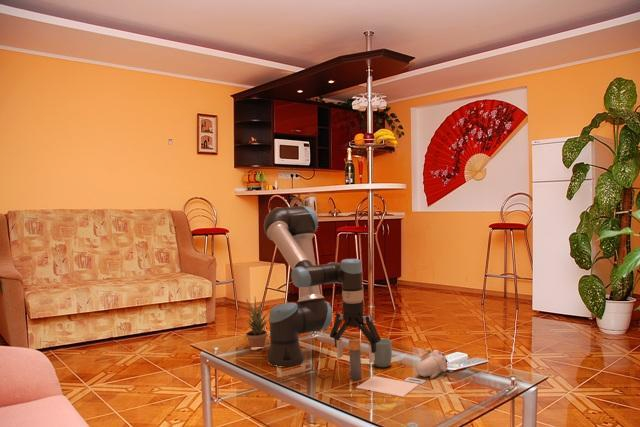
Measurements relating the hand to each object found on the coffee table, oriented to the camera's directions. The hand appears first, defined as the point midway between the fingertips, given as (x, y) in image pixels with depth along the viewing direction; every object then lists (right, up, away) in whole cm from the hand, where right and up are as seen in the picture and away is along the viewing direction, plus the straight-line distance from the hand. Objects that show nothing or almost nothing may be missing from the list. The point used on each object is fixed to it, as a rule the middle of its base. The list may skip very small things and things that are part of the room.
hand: (355, 359), depth 195 cm
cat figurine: (+29, -6, +2) cm, 29 cm away
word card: (+21, -7, -5) cm, 22 cm away
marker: (0, -7, +1) cm, 7 cm away
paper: (+11, -7, -9) cm, 16 cm away
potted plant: (-41, -8, +45) cm, 61 cm away
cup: (+11, -7, +14) cm, 19 cm away
